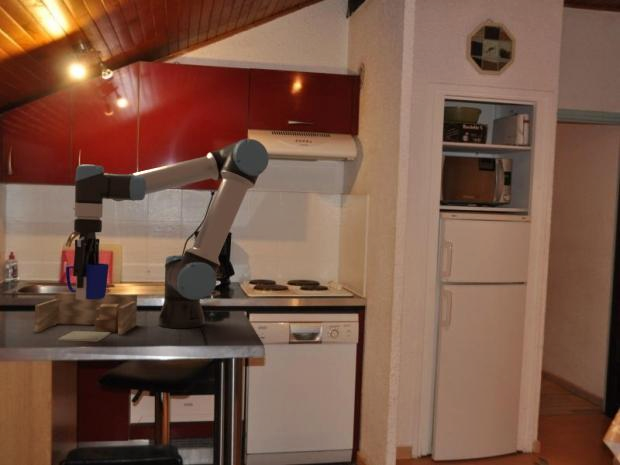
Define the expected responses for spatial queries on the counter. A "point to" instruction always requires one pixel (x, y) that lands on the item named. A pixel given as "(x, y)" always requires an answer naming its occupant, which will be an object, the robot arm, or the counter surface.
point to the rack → (84, 311)
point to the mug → (93, 280)
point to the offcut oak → (108, 311)
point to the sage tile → (84, 336)
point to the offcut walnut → (106, 325)
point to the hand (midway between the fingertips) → (85, 297)
